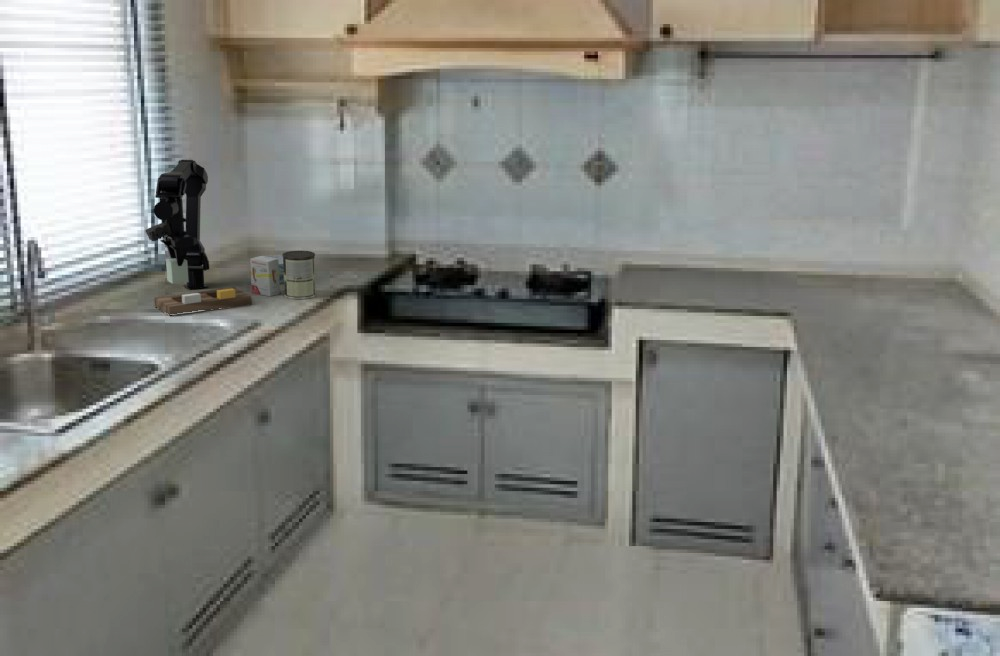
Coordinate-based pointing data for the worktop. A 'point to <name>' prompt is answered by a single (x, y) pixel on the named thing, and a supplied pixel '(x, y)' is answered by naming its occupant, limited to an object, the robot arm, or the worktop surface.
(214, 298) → the socket block
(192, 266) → the robot arm
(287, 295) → the coffee can
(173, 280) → the pale mint cube
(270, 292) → the ink box
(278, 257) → the chinaware
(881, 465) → the worktop surface
